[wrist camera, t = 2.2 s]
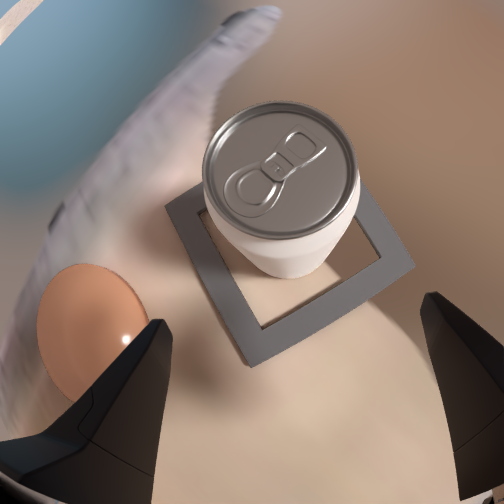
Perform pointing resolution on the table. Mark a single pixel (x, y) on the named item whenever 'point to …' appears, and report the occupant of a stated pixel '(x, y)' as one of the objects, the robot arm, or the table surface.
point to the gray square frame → (309, 316)
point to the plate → (86, 325)
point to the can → (281, 185)
